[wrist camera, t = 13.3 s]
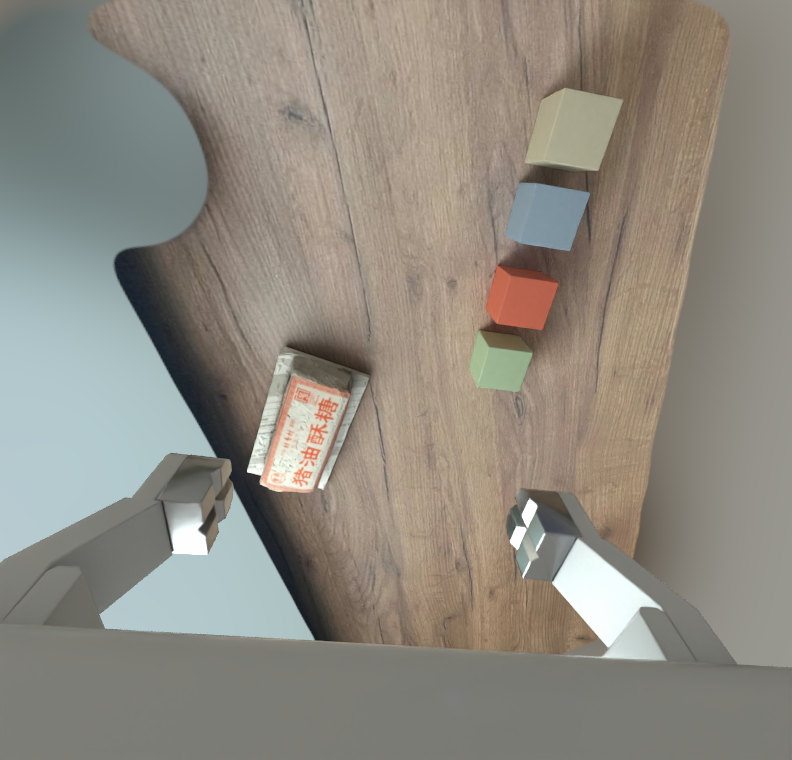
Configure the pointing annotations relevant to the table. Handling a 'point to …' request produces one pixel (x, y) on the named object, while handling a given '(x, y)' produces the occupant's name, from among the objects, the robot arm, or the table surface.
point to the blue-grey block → (546, 215)
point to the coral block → (521, 297)
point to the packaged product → (304, 421)
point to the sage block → (499, 361)
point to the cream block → (573, 130)
